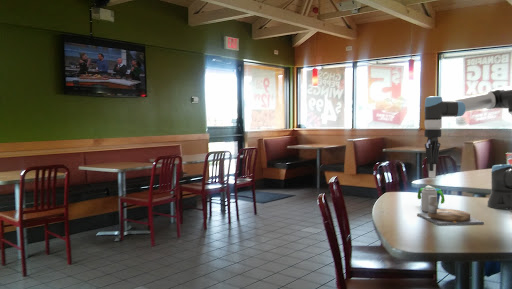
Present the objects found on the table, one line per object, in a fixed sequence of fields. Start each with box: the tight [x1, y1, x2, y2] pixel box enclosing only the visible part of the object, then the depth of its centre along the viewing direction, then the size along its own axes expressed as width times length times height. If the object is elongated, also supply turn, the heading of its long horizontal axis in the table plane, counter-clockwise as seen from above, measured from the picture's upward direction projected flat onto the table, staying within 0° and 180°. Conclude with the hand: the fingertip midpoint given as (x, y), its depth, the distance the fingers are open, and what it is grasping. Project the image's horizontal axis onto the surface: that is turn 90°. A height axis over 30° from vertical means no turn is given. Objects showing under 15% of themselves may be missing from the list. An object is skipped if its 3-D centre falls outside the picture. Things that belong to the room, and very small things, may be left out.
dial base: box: [416, 212, 485, 226], centre depth 199 cm, size 21×21×1 cm
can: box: [420, 187, 437, 213], centre depth 218 cm, size 8×8×12 cm
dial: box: [427, 196, 471, 221], centre depth 199 cm, size 19×18×10 cm
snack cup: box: [417, 186, 446, 208], centre depth 228 cm, size 16×10×10 cm
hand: (432, 177), depth 204 cm, fingers closed
